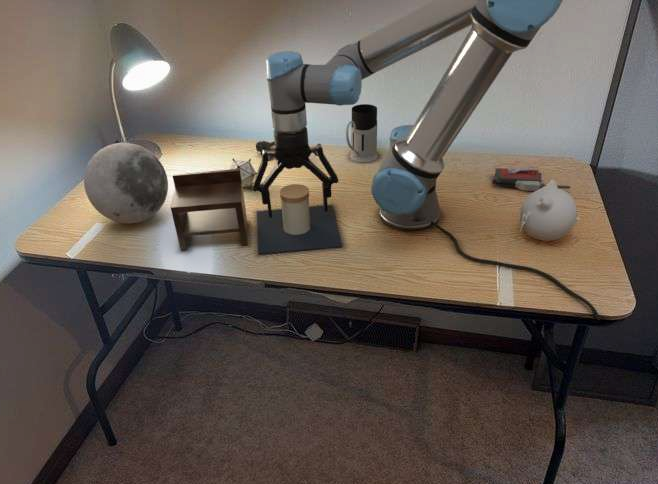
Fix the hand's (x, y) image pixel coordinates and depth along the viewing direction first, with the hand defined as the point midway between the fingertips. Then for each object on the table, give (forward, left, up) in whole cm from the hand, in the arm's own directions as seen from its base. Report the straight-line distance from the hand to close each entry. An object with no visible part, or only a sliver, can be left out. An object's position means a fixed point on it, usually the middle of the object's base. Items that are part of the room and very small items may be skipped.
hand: (298, 212), depth 132 cm
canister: (+1, 0, -5) cm, 5 cm away
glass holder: (+11, -41, -5) cm, 43 cm away
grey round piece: (-50, -31, -5) cm, 59 cm away
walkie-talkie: (-37, -54, -5) cm, 66 cm away
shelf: (+15, +15, -5) cm, 22 cm away
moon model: (+39, +21, -5) cm, 44 cm away
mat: (0, 0, -5) cm, 5 cm away
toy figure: (+33, -29, -5) cm, 44 cm away
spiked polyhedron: (+28, -8, -5) cm, 30 cm away
